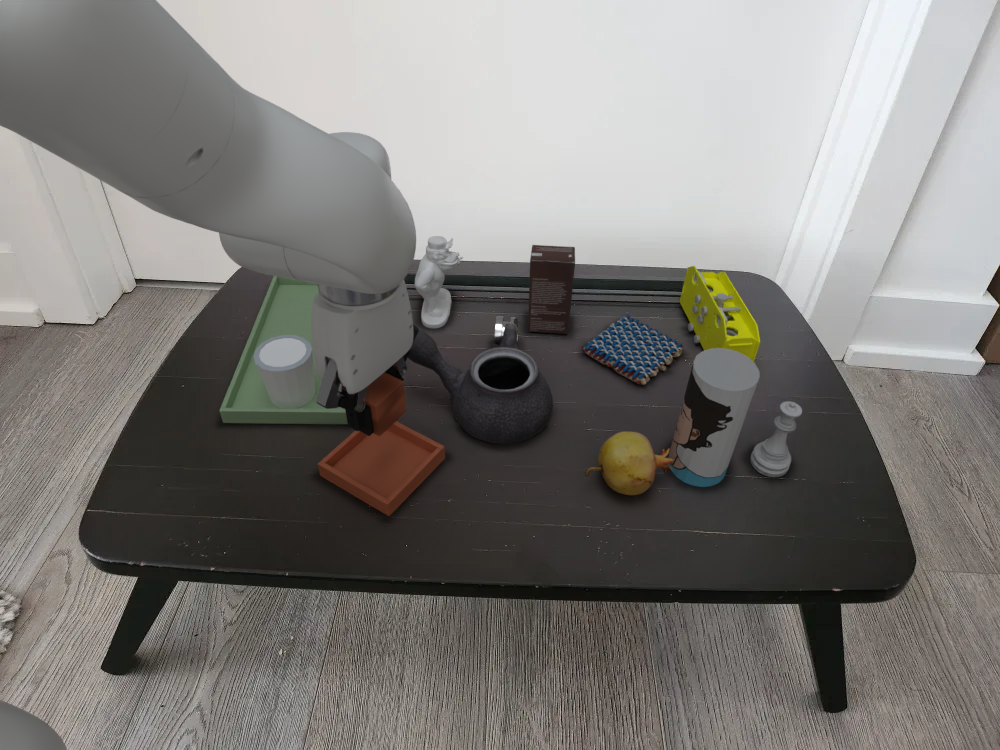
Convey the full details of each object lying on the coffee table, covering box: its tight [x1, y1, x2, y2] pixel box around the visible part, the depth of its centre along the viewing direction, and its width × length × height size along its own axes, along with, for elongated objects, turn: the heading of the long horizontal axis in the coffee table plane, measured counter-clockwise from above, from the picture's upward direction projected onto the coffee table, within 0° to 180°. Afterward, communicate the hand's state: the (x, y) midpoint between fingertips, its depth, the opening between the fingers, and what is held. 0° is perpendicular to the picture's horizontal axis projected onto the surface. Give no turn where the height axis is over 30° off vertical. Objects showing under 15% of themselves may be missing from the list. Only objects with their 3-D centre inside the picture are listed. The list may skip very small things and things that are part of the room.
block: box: [353, 372, 407, 436], centre depth 77 cm, size 4×4×4 cm
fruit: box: [584, 430, 675, 496], centre depth 80 cm, size 7×7×10 cm
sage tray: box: [219, 276, 348, 425], centre depth 99 cm, size 29×15×2 cm, turn 0°
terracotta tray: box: [317, 420, 446, 517], centre depth 83 cm, size 10×10×2 cm
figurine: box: [414, 235, 464, 329], centre depth 102 cm, size 9×7×12 cm
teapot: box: [407, 324, 554, 444], centre depth 88 cm, size 19×15×10 cm
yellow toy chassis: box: [679, 265, 761, 363], centre depth 100 cm, size 16×6×8 cm, turn 6°
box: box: [527, 244, 576, 335], centre depth 100 cm, size 6×4×12 cm
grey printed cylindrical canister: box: [667, 348, 761, 488], centre depth 80 cm, size 7×7×15 cm
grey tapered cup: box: [253, 335, 315, 409], centre depth 89 cm, size 7×7×7 cm
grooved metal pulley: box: [493, 315, 519, 348], centre depth 98 cm, size 5×3×5 cm, turn 175°
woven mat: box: [583, 314, 684, 386], centre depth 99 cm, size 10×11×2 cm
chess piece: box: [749, 400, 803, 478], centre depth 82 cm, size 4×4×10 cm
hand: (377, 413), depth 78 cm, fingers closed on block, 4 cm apart
